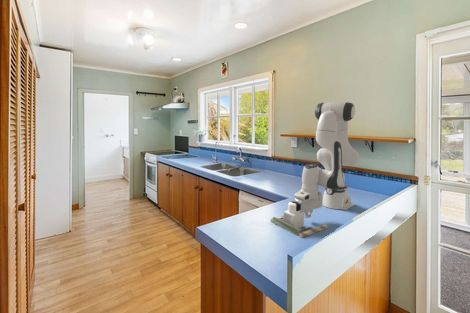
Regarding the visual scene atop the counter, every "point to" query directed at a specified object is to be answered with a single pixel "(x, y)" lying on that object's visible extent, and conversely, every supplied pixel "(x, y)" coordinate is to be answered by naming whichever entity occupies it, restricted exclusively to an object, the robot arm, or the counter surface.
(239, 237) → the counter surface
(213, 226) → the counter surface
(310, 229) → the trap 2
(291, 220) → the container
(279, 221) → the tan flat bar frame
